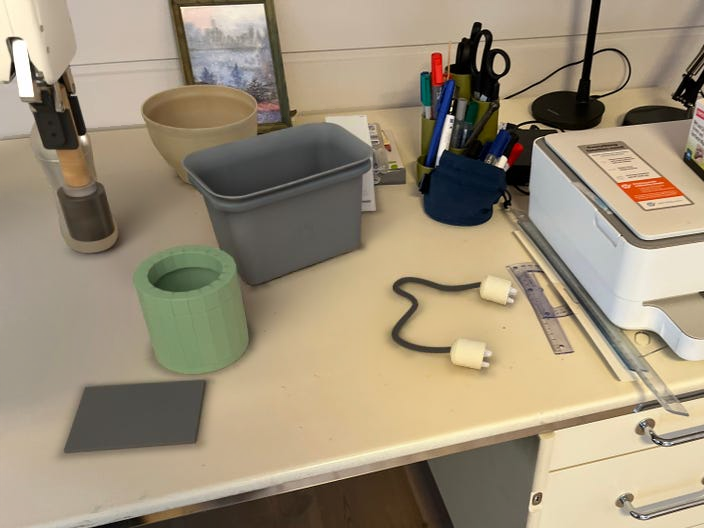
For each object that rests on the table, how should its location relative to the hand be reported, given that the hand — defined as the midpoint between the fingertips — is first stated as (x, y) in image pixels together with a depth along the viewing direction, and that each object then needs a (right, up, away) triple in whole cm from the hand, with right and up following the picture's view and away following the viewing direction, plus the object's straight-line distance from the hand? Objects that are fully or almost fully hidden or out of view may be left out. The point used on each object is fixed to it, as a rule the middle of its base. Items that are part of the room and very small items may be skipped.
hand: (65, 140), depth 76 cm
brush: (-1, -8, +7) cm, 11 cm away
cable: (+38, -18, +15) cm, 45 cm away
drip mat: (+7, -28, 0) cm, 29 cm away
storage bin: (+16, -8, +25) cm, 31 cm away
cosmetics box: (+23, +2, +38) cm, 44 cm away
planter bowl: (+1, +6, +40) cm, 41 cm away
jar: (+10, -21, +9) cm, 25 cm away
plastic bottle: (-9, -7, +23) cm, 26 cm away
